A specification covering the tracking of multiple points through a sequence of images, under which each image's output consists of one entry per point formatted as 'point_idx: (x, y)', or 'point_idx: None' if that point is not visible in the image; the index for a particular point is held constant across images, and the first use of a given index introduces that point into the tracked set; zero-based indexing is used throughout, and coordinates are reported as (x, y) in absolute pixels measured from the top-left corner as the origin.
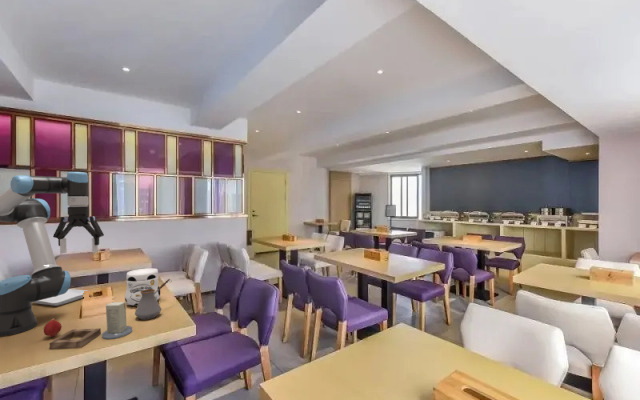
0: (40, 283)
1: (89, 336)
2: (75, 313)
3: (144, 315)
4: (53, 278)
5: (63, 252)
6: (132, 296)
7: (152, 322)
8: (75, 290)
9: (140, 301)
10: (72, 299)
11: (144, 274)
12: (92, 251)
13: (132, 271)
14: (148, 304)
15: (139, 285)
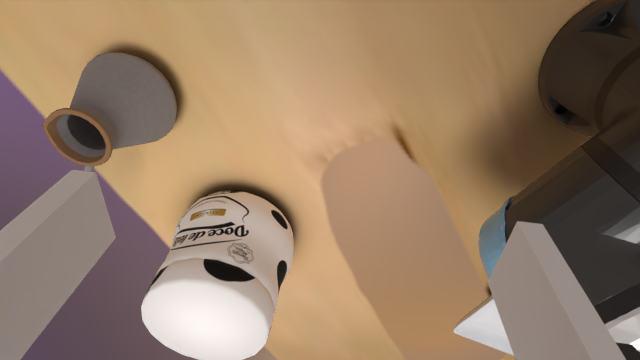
0: (617, 190)
1: None
2: (439, 180)
3: (111, 52)
4: (564, 244)
5: (510, 251)
6: (238, 212)
7: (82, 24)
8: None
9: (119, 102)
10: None
11: (163, 284)
12: (75, 182)
13: (251, 334)
14: (84, 84)
15: (199, 243)
